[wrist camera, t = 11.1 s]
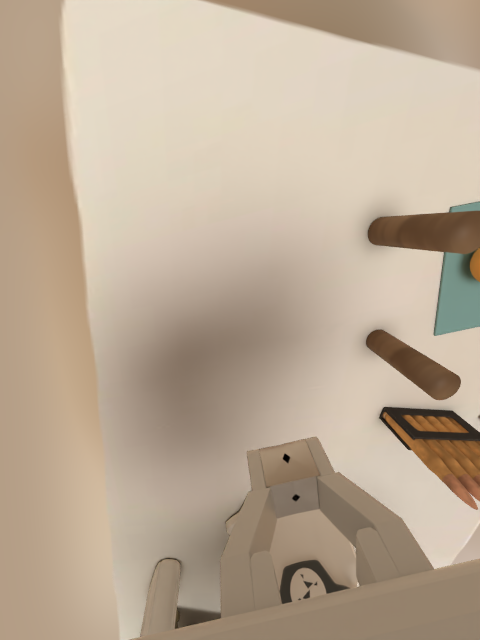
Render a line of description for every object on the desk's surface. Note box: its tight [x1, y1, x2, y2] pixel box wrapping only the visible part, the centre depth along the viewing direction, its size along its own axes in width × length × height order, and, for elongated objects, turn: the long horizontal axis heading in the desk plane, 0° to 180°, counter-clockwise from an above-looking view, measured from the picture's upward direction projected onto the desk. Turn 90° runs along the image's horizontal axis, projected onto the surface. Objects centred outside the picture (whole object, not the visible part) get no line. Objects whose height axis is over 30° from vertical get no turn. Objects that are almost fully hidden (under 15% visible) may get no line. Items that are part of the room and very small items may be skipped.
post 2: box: [366, 330, 461, 400], centre depth 24 cm, size 3×3×9 cm
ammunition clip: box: [380, 407, 480, 510], centre depth 28 cm, size 11×2×12 cm, turn 82°
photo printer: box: [140, 559, 180, 637], centre depth 35 cm, size 10×4×12 cm, turn 163°
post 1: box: [368, 211, 480, 254], centre depth 20 cm, size 3×3×9 cm
